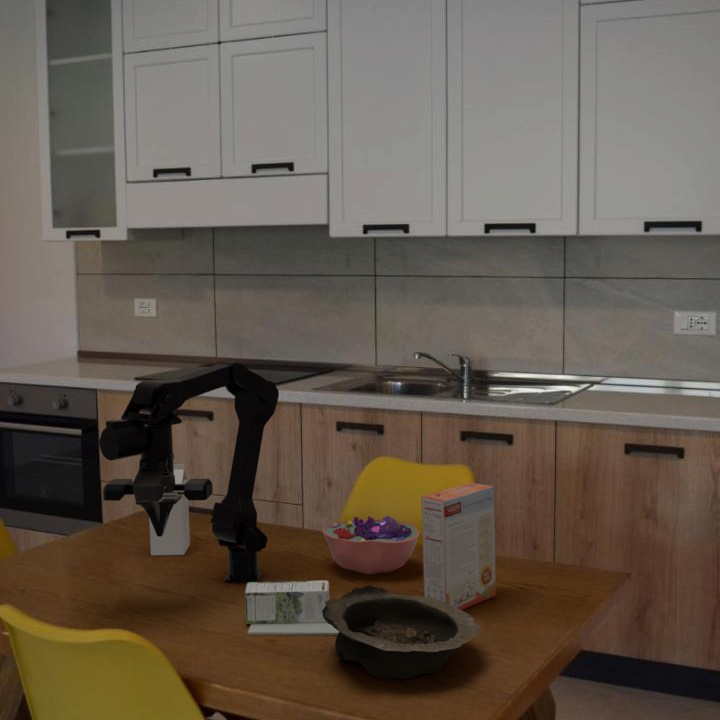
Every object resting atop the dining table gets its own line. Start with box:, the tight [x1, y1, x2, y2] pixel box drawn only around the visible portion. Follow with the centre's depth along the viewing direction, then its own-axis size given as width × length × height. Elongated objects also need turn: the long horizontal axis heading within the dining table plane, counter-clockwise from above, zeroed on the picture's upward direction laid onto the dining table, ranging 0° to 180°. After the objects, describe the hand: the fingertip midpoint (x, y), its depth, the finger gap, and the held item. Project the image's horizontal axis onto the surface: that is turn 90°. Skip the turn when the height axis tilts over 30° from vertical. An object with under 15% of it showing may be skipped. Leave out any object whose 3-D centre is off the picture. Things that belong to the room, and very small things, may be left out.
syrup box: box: [244, 580, 331, 625], centre depth 180 cm, size 6×6×14 cm
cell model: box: [321, 515, 421, 575], centre depth 207 cm, size 17×20×11 cm
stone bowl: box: [322, 585, 480, 680], centre depth 162 cm, size 25×25×9 cm
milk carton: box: [148, 463, 191, 556], centre depth 222 cm, size 7×7×19 cm
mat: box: [247, 622, 339, 636], centre depth 180 cm, size 12×16×1 cm
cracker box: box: [421, 481, 497, 611], centre depth 187 cm, size 14×6×21 cm, turn 135°
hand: (160, 536), depth 188 cm, fingers closed
